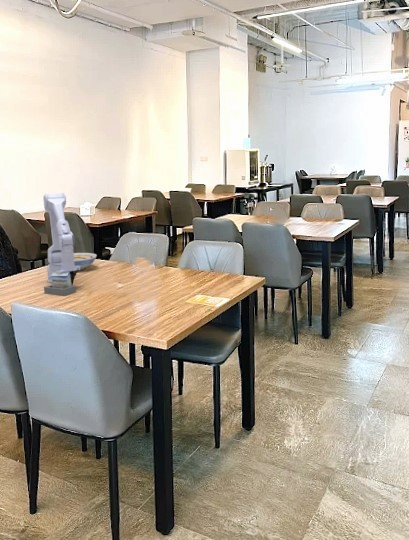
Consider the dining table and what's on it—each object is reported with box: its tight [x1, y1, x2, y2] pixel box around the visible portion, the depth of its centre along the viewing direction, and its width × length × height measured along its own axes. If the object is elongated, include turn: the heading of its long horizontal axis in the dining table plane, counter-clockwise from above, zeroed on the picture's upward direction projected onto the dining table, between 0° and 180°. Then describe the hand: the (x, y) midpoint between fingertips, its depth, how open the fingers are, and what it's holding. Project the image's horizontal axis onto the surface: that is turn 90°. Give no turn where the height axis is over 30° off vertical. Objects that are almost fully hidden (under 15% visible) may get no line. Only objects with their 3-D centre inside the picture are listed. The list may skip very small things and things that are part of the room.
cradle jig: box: [43, 284, 77, 297], centre depth 243 cm, size 12×8×3 cm, turn 63°
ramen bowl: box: [74, 252, 97, 271], centre depth 294 cm, size 25×23×8 cm
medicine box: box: [51, 272, 72, 289], centre depth 244 cm, size 8×4×9 cm, turn 89°
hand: (69, 287), depth 249 cm, fingers closed
